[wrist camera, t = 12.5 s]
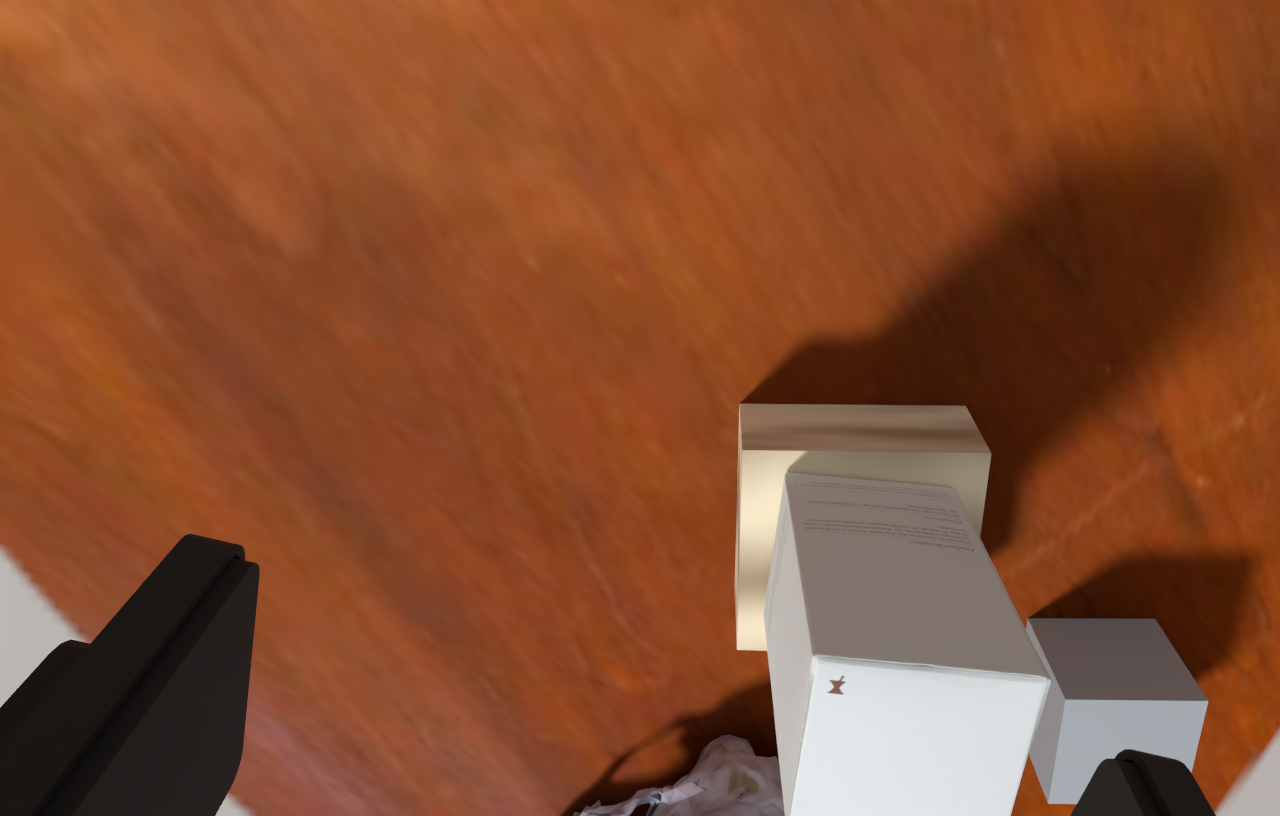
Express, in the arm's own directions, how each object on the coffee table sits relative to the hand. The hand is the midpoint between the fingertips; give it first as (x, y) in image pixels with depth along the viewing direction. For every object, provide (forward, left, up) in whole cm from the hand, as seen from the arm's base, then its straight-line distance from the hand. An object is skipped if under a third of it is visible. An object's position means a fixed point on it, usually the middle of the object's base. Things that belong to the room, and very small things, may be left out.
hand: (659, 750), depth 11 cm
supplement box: (+14, +11, -30) cm, 35 cm away
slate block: (+20, +25, -34) cm, 47 cm away
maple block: (+14, +11, -35) cm, 39 cm away
